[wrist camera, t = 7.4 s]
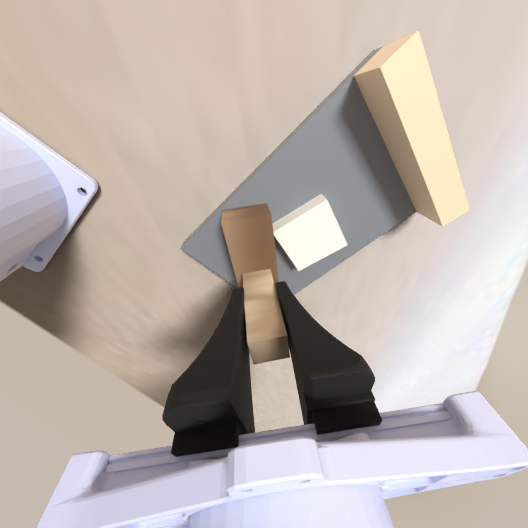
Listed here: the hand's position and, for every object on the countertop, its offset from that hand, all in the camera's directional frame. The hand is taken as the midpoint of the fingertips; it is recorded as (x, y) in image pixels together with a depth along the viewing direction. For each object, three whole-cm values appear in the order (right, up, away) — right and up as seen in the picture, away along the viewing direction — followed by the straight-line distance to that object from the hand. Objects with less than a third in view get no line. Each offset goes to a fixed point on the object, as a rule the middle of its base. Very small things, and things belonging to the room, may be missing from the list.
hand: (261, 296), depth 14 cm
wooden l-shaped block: (0, +2, +3) cm, 4 cm away
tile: (+3, +5, +2) cm, 6 cm away
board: (+3, +6, +2) cm, 7 cm away
